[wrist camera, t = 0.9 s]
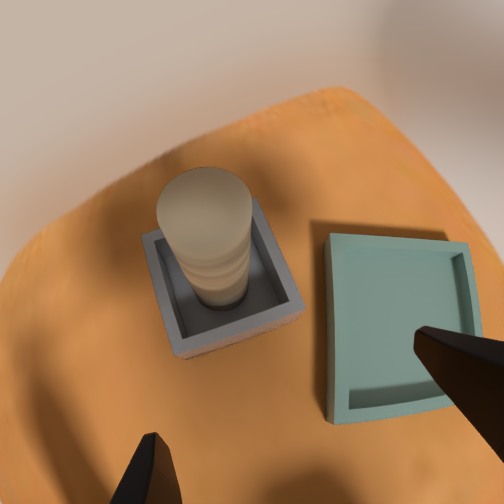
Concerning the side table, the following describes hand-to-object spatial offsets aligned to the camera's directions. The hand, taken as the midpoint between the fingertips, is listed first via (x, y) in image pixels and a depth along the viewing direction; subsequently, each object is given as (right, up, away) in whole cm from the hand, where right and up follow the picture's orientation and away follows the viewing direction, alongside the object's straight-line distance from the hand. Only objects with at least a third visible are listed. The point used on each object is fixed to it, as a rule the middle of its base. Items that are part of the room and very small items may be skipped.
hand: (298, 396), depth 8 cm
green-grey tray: (+11, -2, +14) cm, 18 cm away
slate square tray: (-4, +2, +15) cm, 15 cm away
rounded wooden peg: (-4, +2, +14) cm, 15 cm away
